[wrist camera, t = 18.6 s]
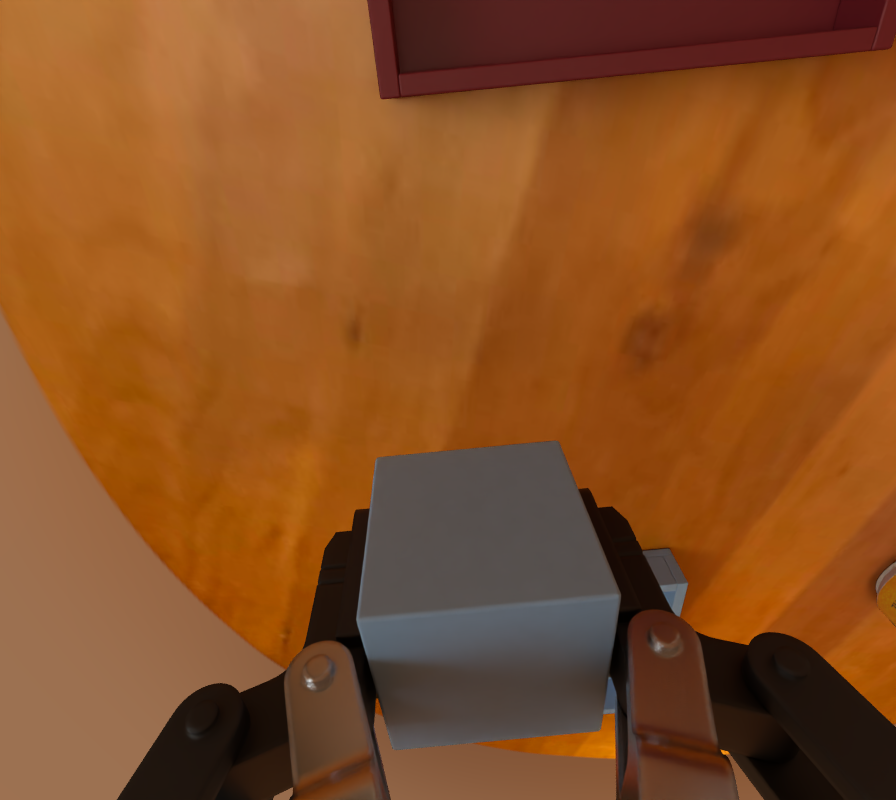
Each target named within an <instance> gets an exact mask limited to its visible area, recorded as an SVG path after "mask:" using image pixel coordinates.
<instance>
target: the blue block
mask: <svg viewBox="0 0 896 800" xmlns="http://www.w3.org/2000/svg"><path fill="white" fill-rule="evenodd" d="M620 601H621V593H620V591H619V588H618V586H617V583H616V581H615V578H614V576H613V574H612V571H611V569H610V566H609V564H608V561H607V559H606V556H605V554H604V551H603V549H602V546H601V544H600V542H599V539H598V537H597V534H596V532H595V529H594V527H593V524H592V522H591V519H590V517H589V515H588V512H587V510H586V507H585V505H584V502H583V500H582V497H581V495H580V492H579V490H578V488H577V485H576V483H575V480H574V478H573V475H572V473H571V470H570V468H569V465H568V463H567V461H566V458H565V456H564V453H563V451H562V448H561V446H560V443H559V442H558V441H546V442H536V443H525V444H514V445H504V446H493V447H483V448H472V449H461V450H451V451H440V452H429V453H419V454H408V455H398V456H387V457H378V458H377V459H376V462H375V470H374V478H373V486H372V494H371V503H370V511H369V519H368V527H367V535H366V544H365V552H364V560H363V568H362V576H361V585H360V593H359V601H358V609H357V617H356V621H357V625H358V628H359V632H360V635H361V639H362V642H363V646H364V649H365V653H366V657H367V660H368V664H369V667H370V671H371V674H372V678H373V681H374V685H375V688H376V692H377V696H378V699H379V703H380V706H381V710H382V713H383V717H384V720H385V724H386V727H387V731H388V735H389V738H390V741H391V745H392V748H393V749H394V750H403V749H413V748H423V747H434V746H445V745H456V744H466V743H477V742H487V741H498V740H509V739H519V738H530V737H541V736H551V735H562V734H572V733H583V732H594V731H599V730H600V729H601V724H602V718H603V711H604V705H605V699H606V692H607V686H608V679H609V673H610V666H611V660H612V653H613V647H614V640H615V634H616V627H617V621H618V614H619V608H620Z"/></svg>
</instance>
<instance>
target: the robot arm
mask: <svg viewBox="0 0 896 800" xmlns="http://www.w3.org/2000/svg"><path fill="white" fill-rule="evenodd" d="M578 490H579V492H580V495H581V497H582V500H583V502H584V505H585V507H586V510H587V512H588V515H589V517H590V519H591V522H592V524H593V527H594V529H595V532H596V534H597V537H598V539H599V542H600V544H601V546H602V549H603V551H604V554H605V556H606V559H607V561H608V564H609V566H610V569H611V571H612V574H613V576H614V578H615V581H616V583H617V586H618V588H619V591H620V593H621V601H620V608H619V614H618V621H617V627H616V634H615V640H614V647H613V653H612V660H611V666H610V673H609V677H611V679H612V682H613V685H614V688H615V691H616V699H615V739H616V800H739V796H738V791H737V785H736V780H735V776H734V772H733V768H732V765H731V763H730V760H729V758H728V757H727V756H726V755H723V754H722V752H721V750H725V751H728V752H729V753H730V755H731V756H732V757H733V759H734V760H735V761H736V762H737V764H738V765H739V767H740V768H741V769H742V771H743V772H744V773H745V775H746V776H747V777H748V779H749V780H750V781H751V783H752V784H753V785H754V787H755V788H756V789H757V791H758V792H759V793H760V795H761V796H762V797H763V799H764V800H896V727H895V726H894V725H893V724H892V723H891V722H890V721H889V720H888V719H887V718H885V717H884V716H883V715H882V714H881V713H880V712H879V711H878V710H877V709H876V708H875V707H874V706H873V705H872V704H871V703H870V702H869V701H868V700H867V699H866V698H864V697H863V696H862V695H861V694H860V693H859V692H858V691H857V690H856V689H855V688H854V687H853V686H852V685H851V684H850V683H849V682H848V681H847V680H846V679H844V678H843V677H842V676H841V675H840V674H839V673H838V672H837V671H836V670H835V669H834V668H833V667H832V666H831V665H830V664H829V663H828V662H827V661H826V660H825V659H823V658H822V657H821V656H820V655H819V654H818V653H817V652H816V651H815V650H814V649H812V648H811V647H810V646H808V645H807V644H805V643H804V642H802V641H800V640H798V639H796V638H794V637H792V636H789V635H786V634H781V633H775V632H768V633H762V634H759V635H757V636H756V637H754V638H753V639H752V640H751V642H750V643H749V645H744V644H740V643H735V642H730V641H725V640H720V639H715V638H712V637H708V636H705V635H703V634H700V633H698V632H696V631H695V630H694V629H693V628H692V627H691V626H690V625H689V624H688V623H687V622H686V621H685V620H683V619H682V618H680V617H679V616H677V615H675V613H674V612H673V611H672V609H671V607H670V605H669V603H668V601H667V599H666V597H665V595H664V593H663V591H662V589H661V587H660V585H659V583H658V581H657V579H656V577H655V575H654V573H653V571H652V569H651V567H650V565H649V563H648V561H647V559H646V557H645V555H643V551H642V549H641V547H640V545H639V543H638V541H636V537H635V535H634V533H633V531H632V529H631V527H630V525H629V523H628V521H627V520H626V519H625V518H624V517H623V516H622V515H621V514H620V513H619V512H617V511H616V510H615V509H614V508H613V507H602V508H598V507H597V505H596V502H595V500H594V498H593V495H592V493H591V491H590V490H589V489H588V488H584V489H578ZM369 511H370V508H369V509H359V510H356V511H355V513H354V519H353V526H352V531H345V532H336V533H335V535H334V536H333V538H332V539H331V541H330V542H329V543H328V545H327V546H326V548H325V550H324V555H323V560H322V565H321V570H320V574H319V579H318V585H317V589H316V593H315V598H314V603H313V608H312V613H311V617H310V622H309V627H308V632H307V637H306V641H305V644H304V647H303V649H302V651H300V652H299V653H298V654H297V655H296V656H295V657H294V659H293V660H292V661H291V663H290V665H289V667H288V668H287V670H286V671H284V672H283V673H282V674H280V675H279V676H277V677H275V678H273V679H271V680H269V681H267V682H265V683H262V684H260V685H258V686H255V687H253V688H250V689H248V690H246V691H243V692H241V693H239V692H238V690H237V689H236V688H234V687H233V686H231V685H228V684H223V683H220V684H219V683H218V684H212V685H208V686H205V687H203V688H201V689H199V690H197V691H195V692H194V693H193V694H191V695H190V696H188V697H187V698H186V699H185V700H184V701H183V702H182V703H181V704H180V705H179V706H178V708H177V709H176V710H175V712H174V713H173V715H172V716H171V718H170V719H169V721H168V722H167V724H166V726H165V727H164V728H163V730H162V732H161V733H160V735H159V736H158V738H157V739H156V741H155V742H154V744H153V745H152V747H151V748H150V750H149V751H148V753H147V754H146V756H145V757H144V759H143V761H142V762H141V764H140V765H139V767H138V768H137V770H136V772H135V773H134V774H133V776H132V777H131V779H130V781H129V782H128V784H127V785H126V787H125V788H124V790H123V791H122V793H121V794H120V796H119V797H118V799H117V800H273V798H274V796H275V795H277V794H279V793H281V792H284V791H286V790H288V789H290V788H292V787H293V795H292V796H291V797H290V799H289V800H391V799H390V794H389V790H388V786H387V782H386V777H385V772H384V769H383V764H382V760H381V755H380V751H379V747H378V743H377V738H376V734H375V730H374V717H375V703H376V698H378V696H377V692H376V688H375V685H374V681H373V678H372V674H371V671H370V667H369V664H368V660H367V657H366V653H365V649H364V646H363V642H362V639H361V635H360V632H359V628H358V625H357V621H356V617H357V609H358V601H359V593H360V585H361V576H362V568H363V560H364V552H365V544H366V535H367V527H368V519H369ZM720 749H721V750H720Z"/></svg>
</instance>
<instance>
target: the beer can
mask: <svg viewBox="0 0 896 800" xmlns="http://www.w3.org/2000/svg"><path fill="white" fill-rule="evenodd" d="M876 592H877V606H878V608H879V609H880V610H881V611H882V612H883V614H884V615H885V616H886V617H887V618H888V619H889V620H890V621H891V623H892V624H893V625H894V626H895V627H896V562H894V563H893V564H892V565H890V566H889V567H888V568H887V569H886V570H885V571H884V572H883V573H882V574H881V575H880V577H879V578H878V580H877V583H876Z"/></svg>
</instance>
